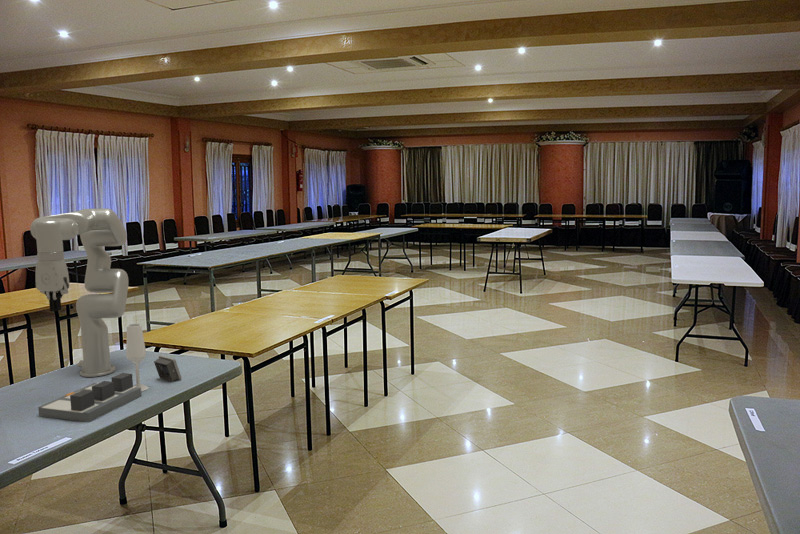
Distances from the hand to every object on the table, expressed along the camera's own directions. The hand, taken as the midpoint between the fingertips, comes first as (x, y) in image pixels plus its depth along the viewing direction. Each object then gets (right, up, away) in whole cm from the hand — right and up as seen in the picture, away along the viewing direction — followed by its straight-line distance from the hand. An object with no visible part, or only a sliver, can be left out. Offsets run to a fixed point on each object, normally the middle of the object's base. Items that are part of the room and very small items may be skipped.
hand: (55, 310), depth 202 cm
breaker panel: (+12, -32, 0) cm, 35 cm away
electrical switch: (+28, -29, +27) cm, 48 cm away
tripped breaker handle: (+17, -29, -2) cm, 34 cm away
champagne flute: (+21, -30, +16) cm, 40 cm away
